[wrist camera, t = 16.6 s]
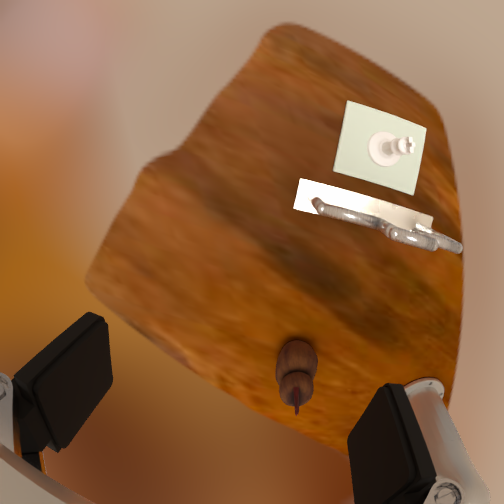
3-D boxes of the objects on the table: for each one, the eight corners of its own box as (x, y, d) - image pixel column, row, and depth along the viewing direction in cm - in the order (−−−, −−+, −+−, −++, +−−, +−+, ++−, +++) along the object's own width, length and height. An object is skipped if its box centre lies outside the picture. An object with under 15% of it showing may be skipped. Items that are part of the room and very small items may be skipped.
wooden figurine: (285, 329, 44) (282, 396, 30) (320, 338, 44) (329, 406, 30) (272, 362, 46) (265, 430, 32) (305, 370, 46) (307, 438, 32)
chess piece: (398, 131, 33) (430, 122, 24) (401, 167, 34) (435, 168, 25) (364, 131, 34) (389, 120, 24) (368, 167, 35) (394, 168, 26)
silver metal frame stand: (422, 241, 38) (485, 284, 22) (293, 207, 39) (298, 235, 23) (429, 215, 36) (498, 246, 20) (300, 178, 38) (310, 185, 22)
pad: (411, 194, 36) (413, 195, 35) (332, 171, 37) (333, 171, 36) (424, 128, 33) (426, 128, 32) (346, 101, 34) (347, 100, 33)
